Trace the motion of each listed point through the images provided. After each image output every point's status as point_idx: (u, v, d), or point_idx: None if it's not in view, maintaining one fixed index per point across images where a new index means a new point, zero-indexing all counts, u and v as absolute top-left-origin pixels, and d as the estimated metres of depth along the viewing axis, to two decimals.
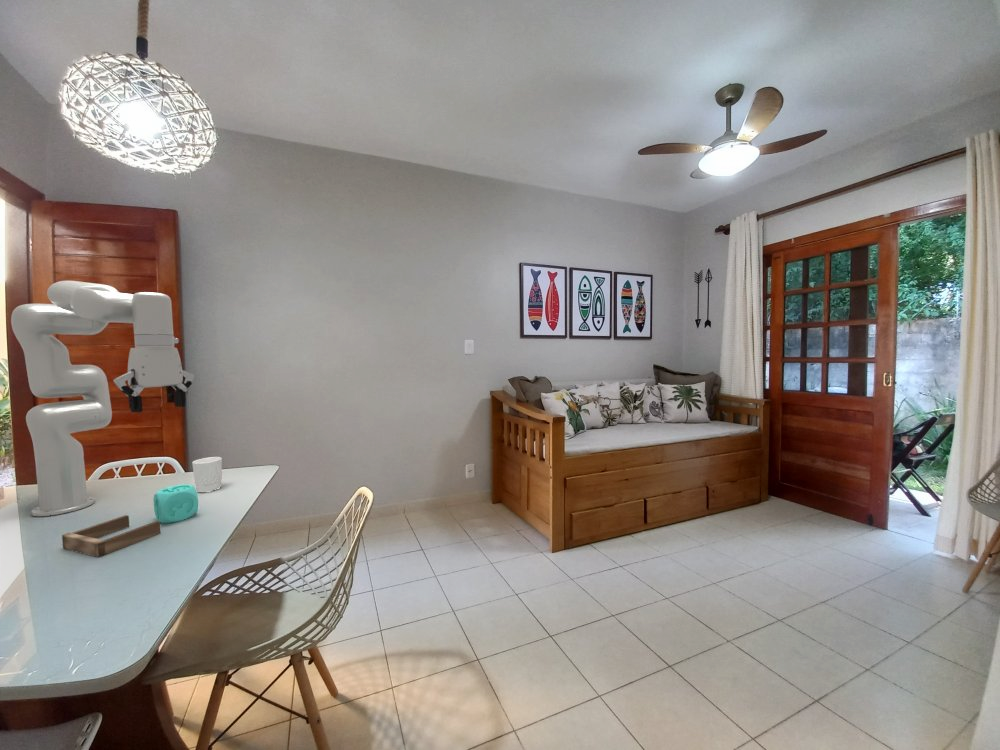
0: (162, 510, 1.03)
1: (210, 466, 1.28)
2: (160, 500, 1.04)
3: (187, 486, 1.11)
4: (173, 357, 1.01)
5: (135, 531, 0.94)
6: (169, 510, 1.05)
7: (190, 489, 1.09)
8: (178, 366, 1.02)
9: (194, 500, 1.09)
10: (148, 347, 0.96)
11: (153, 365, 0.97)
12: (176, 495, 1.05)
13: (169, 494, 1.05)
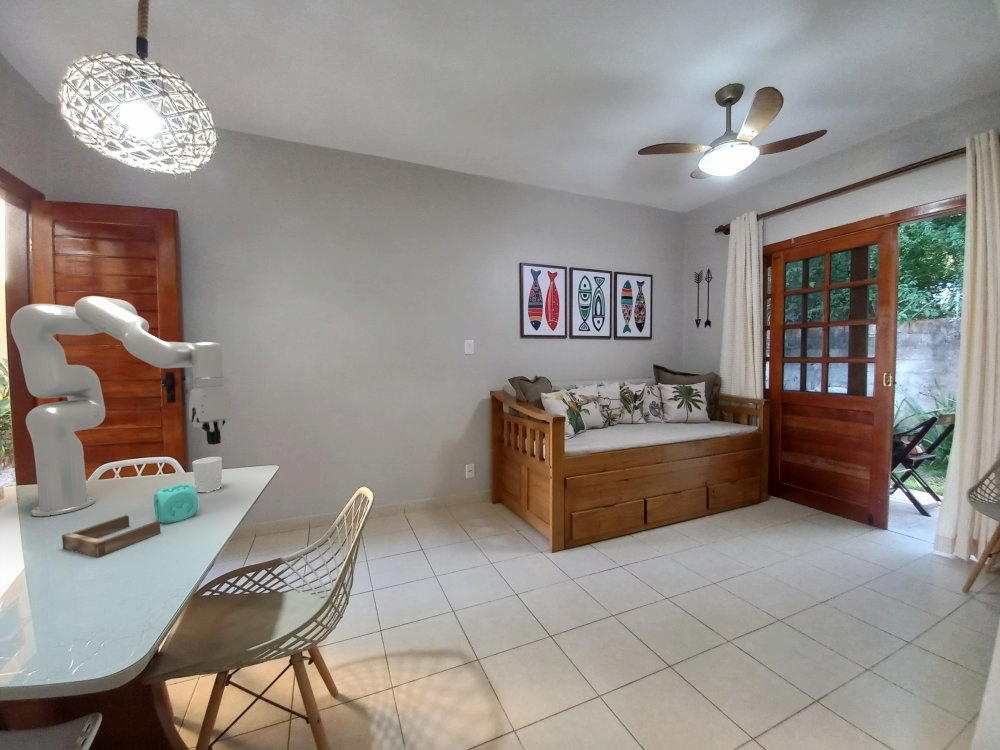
0: (162, 510, 1.03)
1: (210, 466, 1.28)
2: (160, 500, 1.04)
3: (187, 486, 1.11)
4: (224, 395, 1.19)
5: (135, 531, 0.94)
6: (169, 510, 1.05)
7: (190, 489, 1.09)
8: (228, 402, 1.21)
9: (194, 500, 1.09)
10: (206, 389, 1.14)
11: (210, 403, 1.15)
12: (176, 495, 1.05)
13: (169, 494, 1.05)
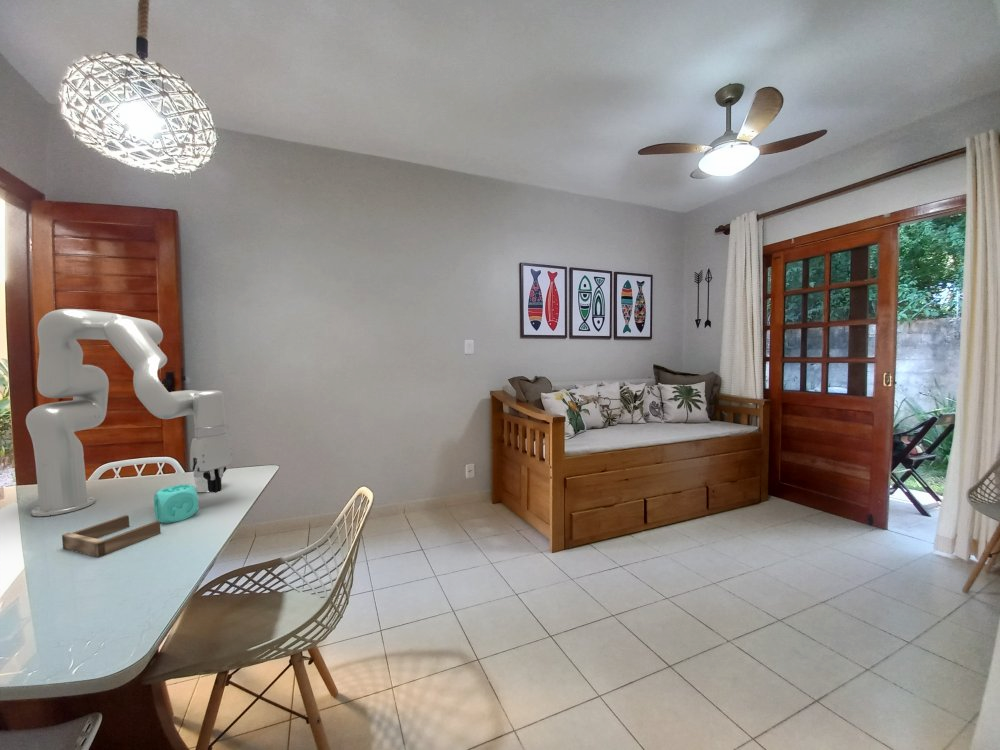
0: (162, 510, 1.03)
1: None
2: (160, 500, 1.04)
3: (187, 486, 1.11)
4: (225, 442, 1.19)
5: (135, 531, 0.94)
6: (169, 510, 1.05)
7: (190, 489, 1.09)
8: (229, 449, 1.21)
9: (194, 500, 1.09)
10: (207, 438, 1.14)
11: (211, 452, 1.15)
12: (176, 495, 1.05)
13: (169, 494, 1.05)
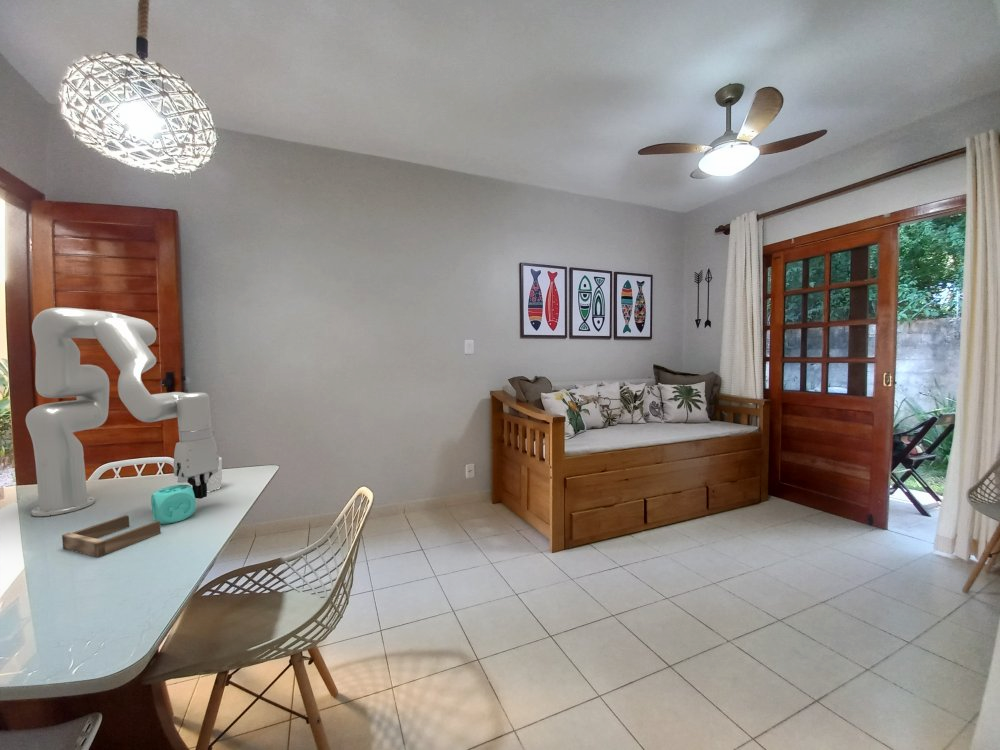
0: (159, 511, 1.02)
1: None
2: (157, 501, 1.03)
3: (184, 486, 1.10)
4: (211, 446, 1.15)
5: (135, 531, 0.94)
6: (166, 511, 1.04)
7: (187, 490, 1.08)
8: (215, 453, 1.17)
9: (191, 501, 1.08)
10: (191, 442, 1.10)
11: (195, 457, 1.11)
12: (172, 495, 1.04)
13: (166, 495, 1.04)
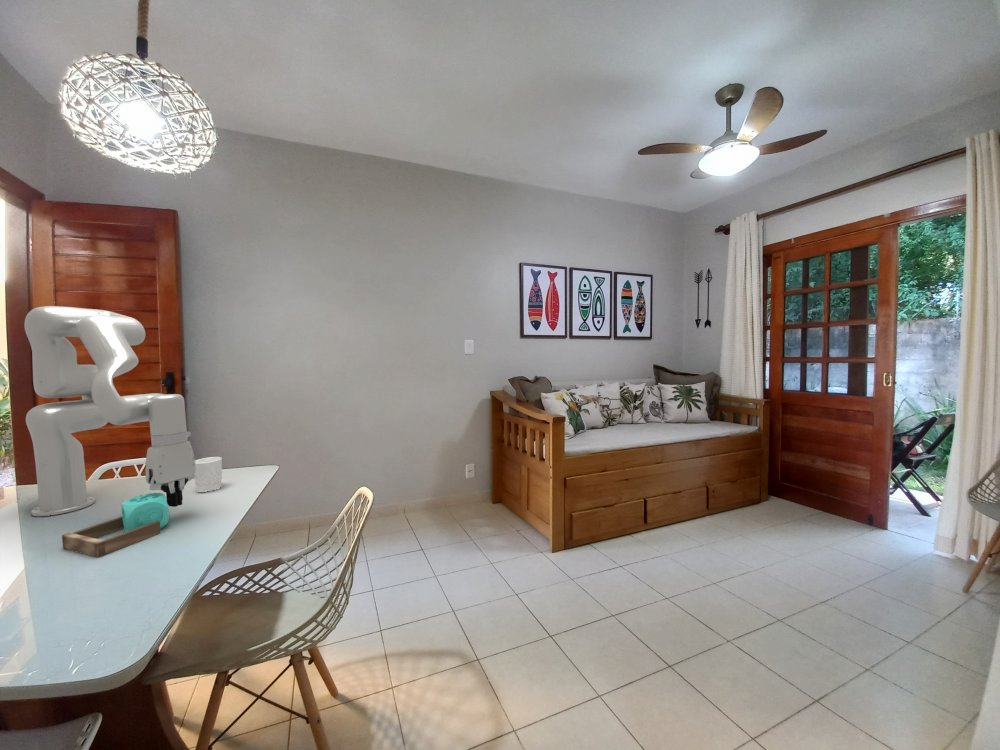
0: (127, 522, 0.96)
1: (210, 466, 1.28)
2: (125, 511, 0.96)
3: (157, 495, 1.04)
4: (187, 451, 1.09)
5: (135, 531, 0.94)
6: (136, 521, 0.97)
7: (159, 498, 1.01)
8: (191, 459, 1.10)
9: (164, 510, 1.01)
10: (164, 447, 1.03)
11: (169, 463, 1.04)
12: (143, 505, 0.98)
13: (135, 505, 0.97)
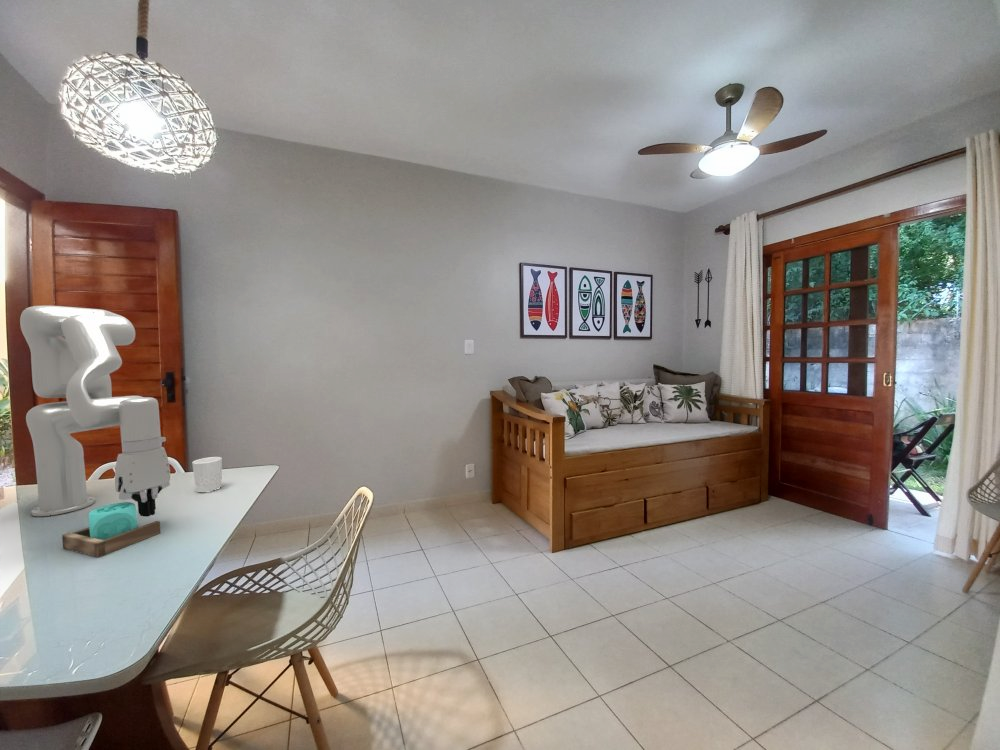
0: (91, 534, 0.90)
1: (210, 466, 1.28)
2: (90, 522, 0.90)
3: (128, 504, 0.98)
4: (160, 458, 1.03)
5: (135, 531, 0.94)
6: (101, 533, 0.91)
7: (128, 509, 0.95)
8: (165, 466, 1.04)
9: (132, 522, 0.95)
10: (136, 454, 0.97)
11: (141, 470, 0.98)
12: (109, 516, 0.92)
13: (101, 515, 0.91)
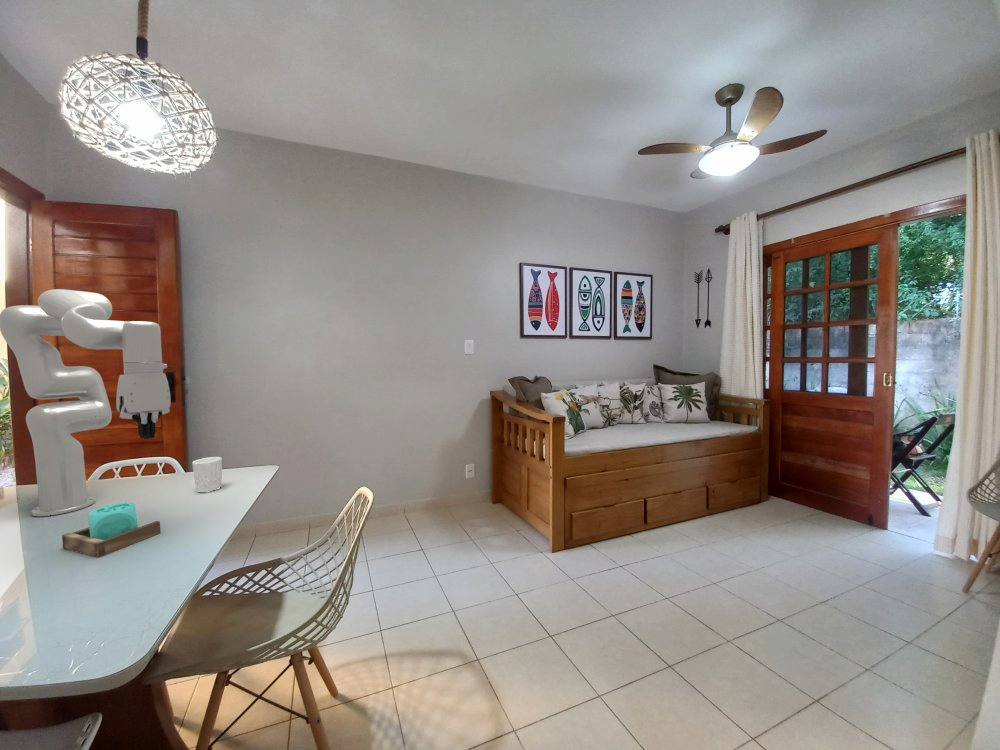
0: (91, 534, 0.90)
1: (210, 466, 1.28)
2: (90, 522, 0.90)
3: (128, 505, 0.98)
4: (161, 383, 1.05)
5: (135, 531, 0.94)
6: (101, 533, 0.91)
7: (128, 509, 0.95)
8: (166, 391, 1.06)
9: (132, 522, 0.95)
10: (137, 375, 0.99)
11: (141, 392, 1.00)
12: (109, 516, 0.92)
13: (101, 515, 0.91)
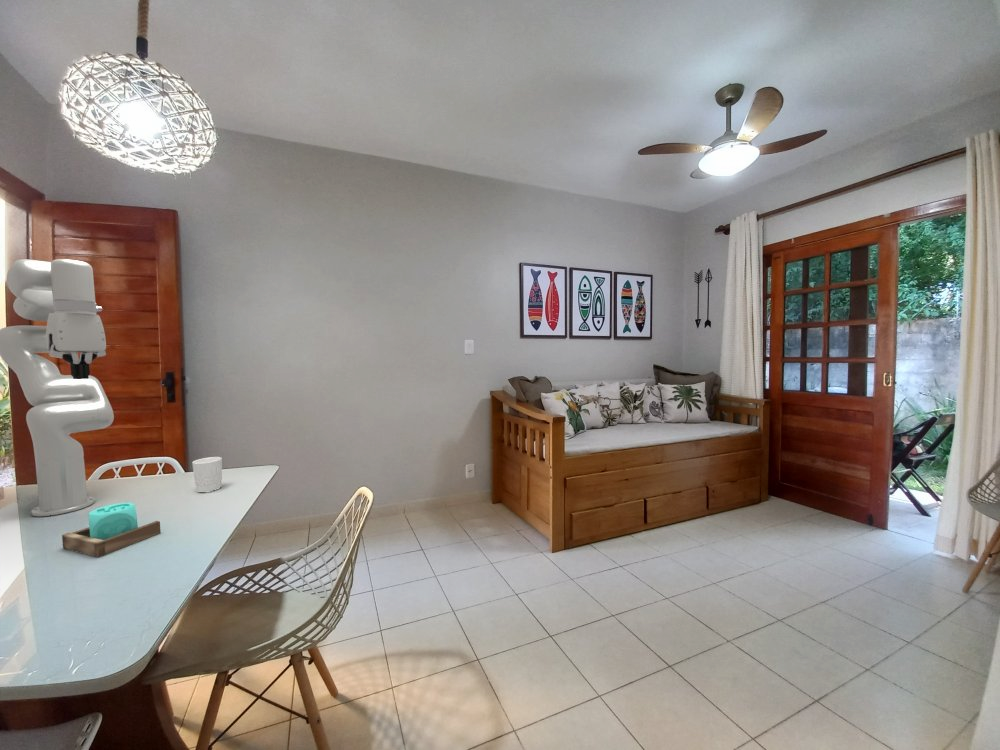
0: (91, 534, 0.90)
1: (210, 466, 1.28)
2: (90, 522, 0.90)
3: (128, 505, 0.98)
4: (95, 324, 1.04)
5: (135, 531, 0.94)
6: (101, 533, 0.91)
7: (128, 509, 0.95)
8: (100, 333, 1.05)
9: (132, 522, 0.95)
10: (66, 313, 0.99)
11: (72, 330, 1.00)
12: (109, 516, 0.92)
13: (101, 515, 0.91)
